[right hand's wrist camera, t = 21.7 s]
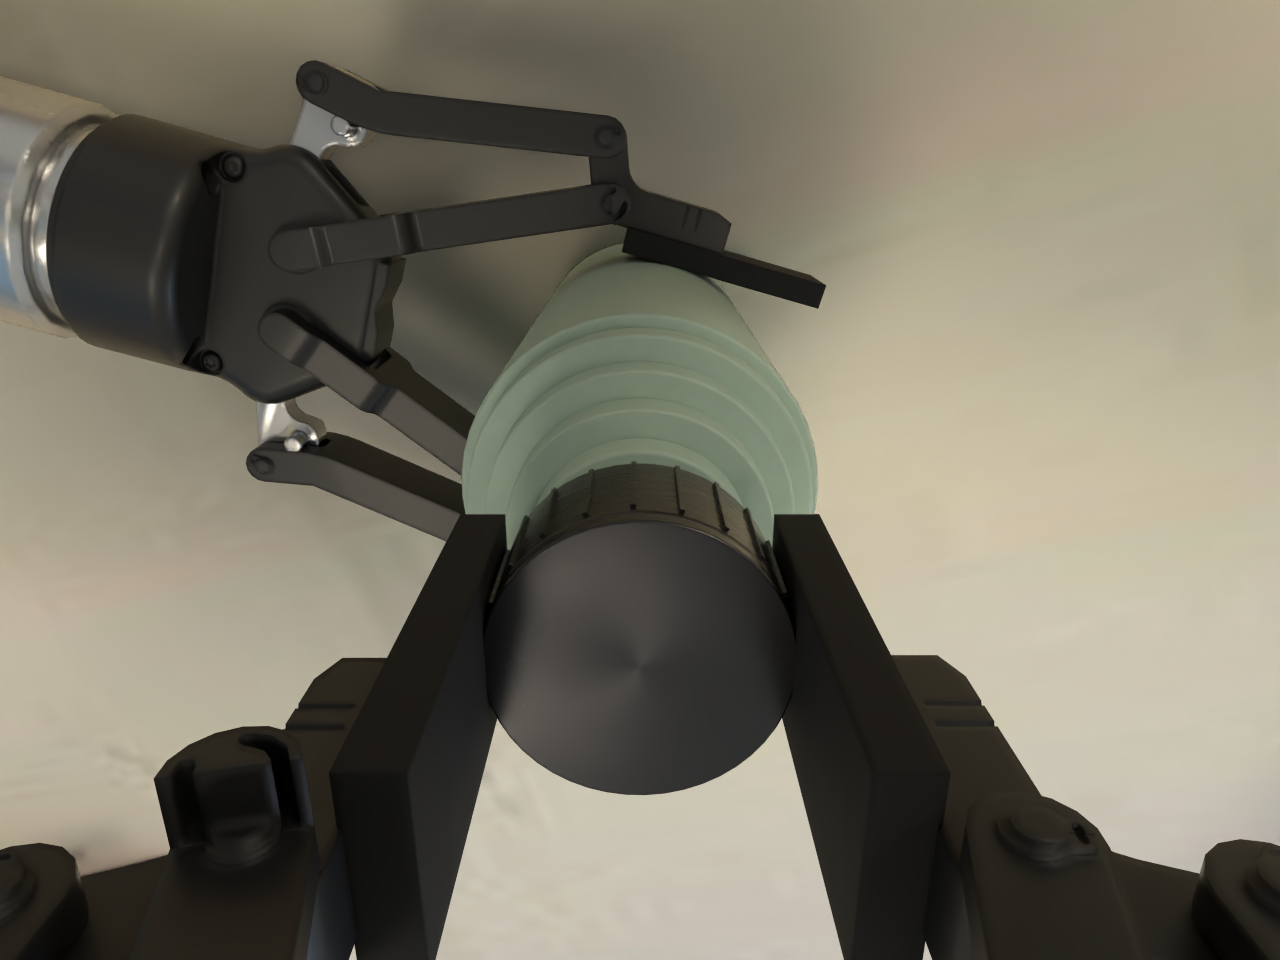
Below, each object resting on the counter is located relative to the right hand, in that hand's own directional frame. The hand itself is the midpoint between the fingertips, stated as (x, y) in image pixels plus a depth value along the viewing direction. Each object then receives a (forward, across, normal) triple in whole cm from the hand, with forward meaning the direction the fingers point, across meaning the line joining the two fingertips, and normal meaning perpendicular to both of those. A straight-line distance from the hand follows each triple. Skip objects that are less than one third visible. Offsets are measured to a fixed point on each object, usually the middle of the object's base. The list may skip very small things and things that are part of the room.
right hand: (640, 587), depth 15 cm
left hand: (+16, -5, +1) cm, 17 cm away
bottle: (+22, 0, 0) cm, 22 cm away
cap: (-2, 0, 0) cm, 2 cm away
